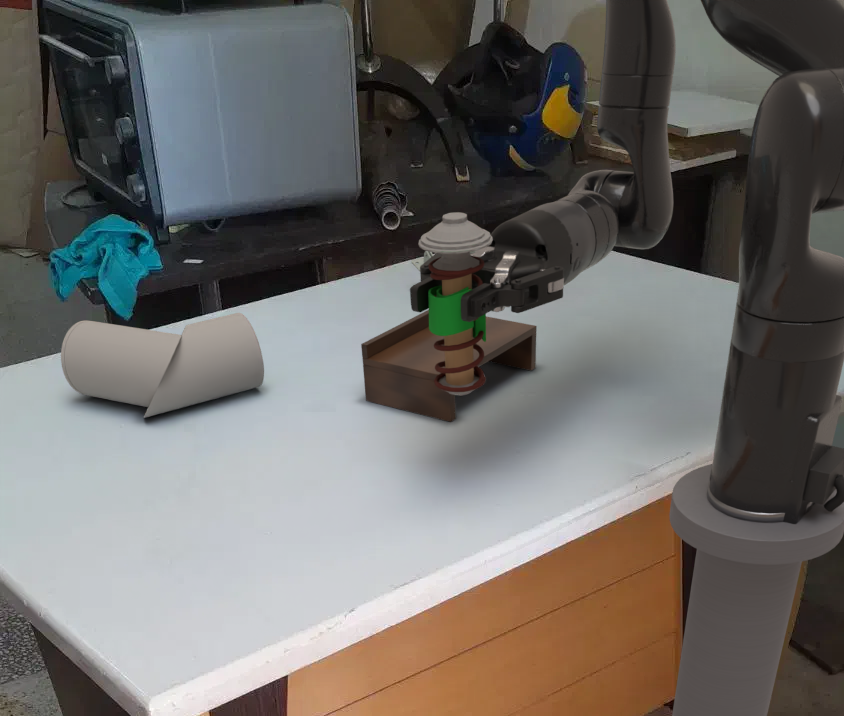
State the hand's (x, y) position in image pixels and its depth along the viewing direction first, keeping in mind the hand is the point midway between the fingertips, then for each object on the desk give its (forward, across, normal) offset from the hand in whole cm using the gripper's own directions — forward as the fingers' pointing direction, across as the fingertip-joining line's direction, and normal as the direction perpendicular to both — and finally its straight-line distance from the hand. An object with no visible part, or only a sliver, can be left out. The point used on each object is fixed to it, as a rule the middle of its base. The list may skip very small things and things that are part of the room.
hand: (439, 304), depth 88 cm
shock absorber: (-3, 0, +9) cm, 9 cm away
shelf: (-22, -15, +18) cm, 32 cm away
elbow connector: (-2, -43, +18) cm, 46 cm away
